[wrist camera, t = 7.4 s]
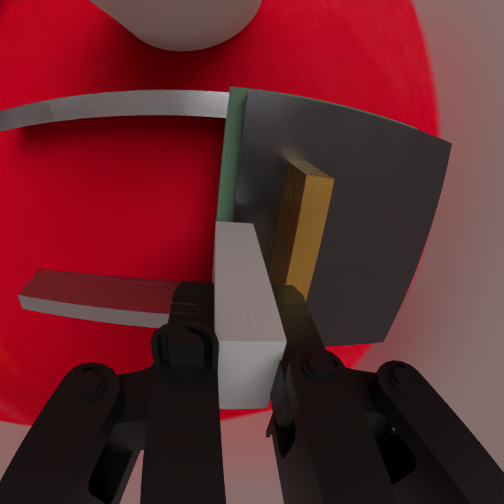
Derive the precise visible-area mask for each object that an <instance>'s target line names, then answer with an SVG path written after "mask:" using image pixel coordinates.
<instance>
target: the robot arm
mask: <svg viewBox="0 0 504 504" xmlns="http://www.w3.org/2000/svg"><path fill="white" fill-rule="evenodd" d="M150 341H151V347H152V353H153V359H154V364H153V365H152V366H150V367H148V368H146V369H144V370H141V371H137V372H132V373H126V374H119V375H116V374H115V372H114V371H113V369H111V368H109V367H107V366H106V365H104V364H100V363H95V362H91V363H83V364H81V365H78V366H76V367H74V368H73V369H72V370H71V371H69V372H68V373H67V374H66V376H65V377H64V378H63V380H62V381H61V383H60V384H59V386H58V387H57V389H56V390H55V391H54V393H53V394H52V396H51V397H50V399H49V400H48V402H47V403H46V405H45V406H44V408H43V409H42V411H41V413H40V414H39V416H38V417H37V419H36V420H35V422H34V424H33V425H32V427H31V428H30V430H29V432H28V433H27V435H26V436H25V438H24V440H23V441H22V443H21V445H20V447H19V448H18V450H17V452H16V453H15V455H14V457H13V459H12V461H11V463H10V464H9V466H8V468H7V470H6V471H5V473H4V475H3V477H2V479H1V481H0V504H119V503H120V501H121V498H122V495H123V493H124V490H125V488H126V486H127V483H128V480H129V478H130V475H131V473H132V470H133V468H134V465H135V463H136V460H137V458H138V455H139V453H140V451H141V450H144V456H143V467H142V481H141V498H140V504H226V497H225V486H224V473H223V461H222V445H221V428H220V410H219V409H258V408H268V405H269V401H270V399H271V404H272V410H273V414H272V417H271V420H270V422H269V425H268V428H267V431H266V437H270V435H271V433H272V438H273V444H274V450H275V455H276V461H277V466H278V472H279V478H280V483H281V489H282V494H283V500H284V504H504V472H503V471H502V470H501V469H500V468H499V466H498V465H497V463H496V462H495V461H494V460H493V458H492V457H491V456H490V455H489V453H488V452H487V451H486V450H485V448H484V447H483V446H482V445H481V443H480V442H479V441H478V440H477V439H476V437H475V436H474V435H473V434H472V433H471V431H470V430H469V429H468V428H467V427H466V425H465V424H464V423H463V422H462V421H461V420H460V418H459V417H458V416H457V415H456V414H455V413H454V411H453V410H452V409H451V408H450V407H449V406H448V404H447V403H446V402H445V401H444V400H443V399H442V398H441V396H440V395H439V394H438V393H437V392H436V391H435V390H434V389H433V387H432V386H431V385H430V384H429V383H428V382H427V381H426V379H425V378H424V377H423V376H422V375H421V374H420V373H419V372H418V371H417V370H416V369H415V368H414V367H412V366H411V365H409V364H407V363H405V362H402V361H395V360H393V361H389V362H385V363H384V364H383V365H381V366H380V368H379V369H378V371H377V373H373V372H366V371H359V370H354V369H350V368H346V367H345V366H344V364H343V363H342V361H341V360H340V358H338V357H337V356H336V355H334V354H333V353H332V352H329V351H327V350H325V347H324V345H323V342H322V340H321V337H320V335H319V333H318V330H317V328H316V325H315V323H314V320H313V318H312V316H311V313H310V311H309V308H308V307H307V304H306V301H305V299H304V297H303V294H302V293H301V292H300V291H299V290H297V289H296V288H295V287H294V286H293V285H277V284H270V280H269V277H268V274H267V270H266V267H265V263H264V260H263V256H262V253H261V249H260V246H259V242H258V239H257V235H256V232H255V229H254V225H253V224H251V223H236V222H219V221H216V226H215V242H214V258H213V277H212V283H199V282H182V283H181V284H180V285H179V286H178V287H177V288H176V289H175V290H174V294H173V299H172V304H171V309H170V314H169V319H168V323H167V324H164V325H162V326H161V327H160V328H159V329H157V330H156V331H155V332H154V334H153V336H152V338H151V340H150ZM392 428H394V429H395V431H394V430H393V429H392Z"/></svg>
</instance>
